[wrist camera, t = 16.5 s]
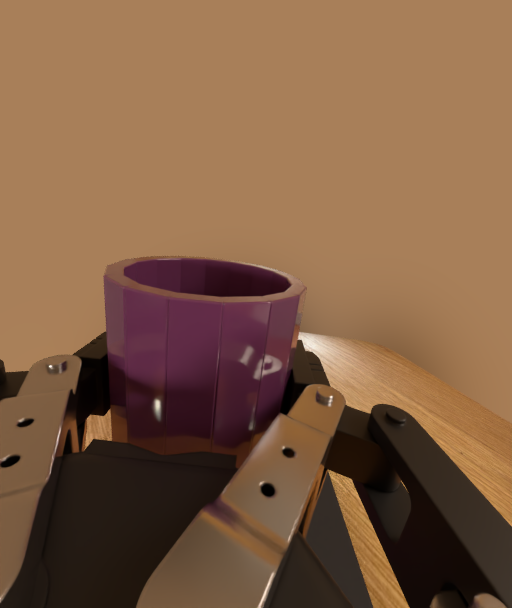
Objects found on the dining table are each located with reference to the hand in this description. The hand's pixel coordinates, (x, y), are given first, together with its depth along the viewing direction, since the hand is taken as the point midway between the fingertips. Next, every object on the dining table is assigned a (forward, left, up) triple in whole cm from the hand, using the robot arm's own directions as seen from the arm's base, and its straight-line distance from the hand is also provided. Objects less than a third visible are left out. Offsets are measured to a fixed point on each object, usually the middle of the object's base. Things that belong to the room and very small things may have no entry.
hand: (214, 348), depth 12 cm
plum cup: (0, -2, -6) cm, 6 cm away
